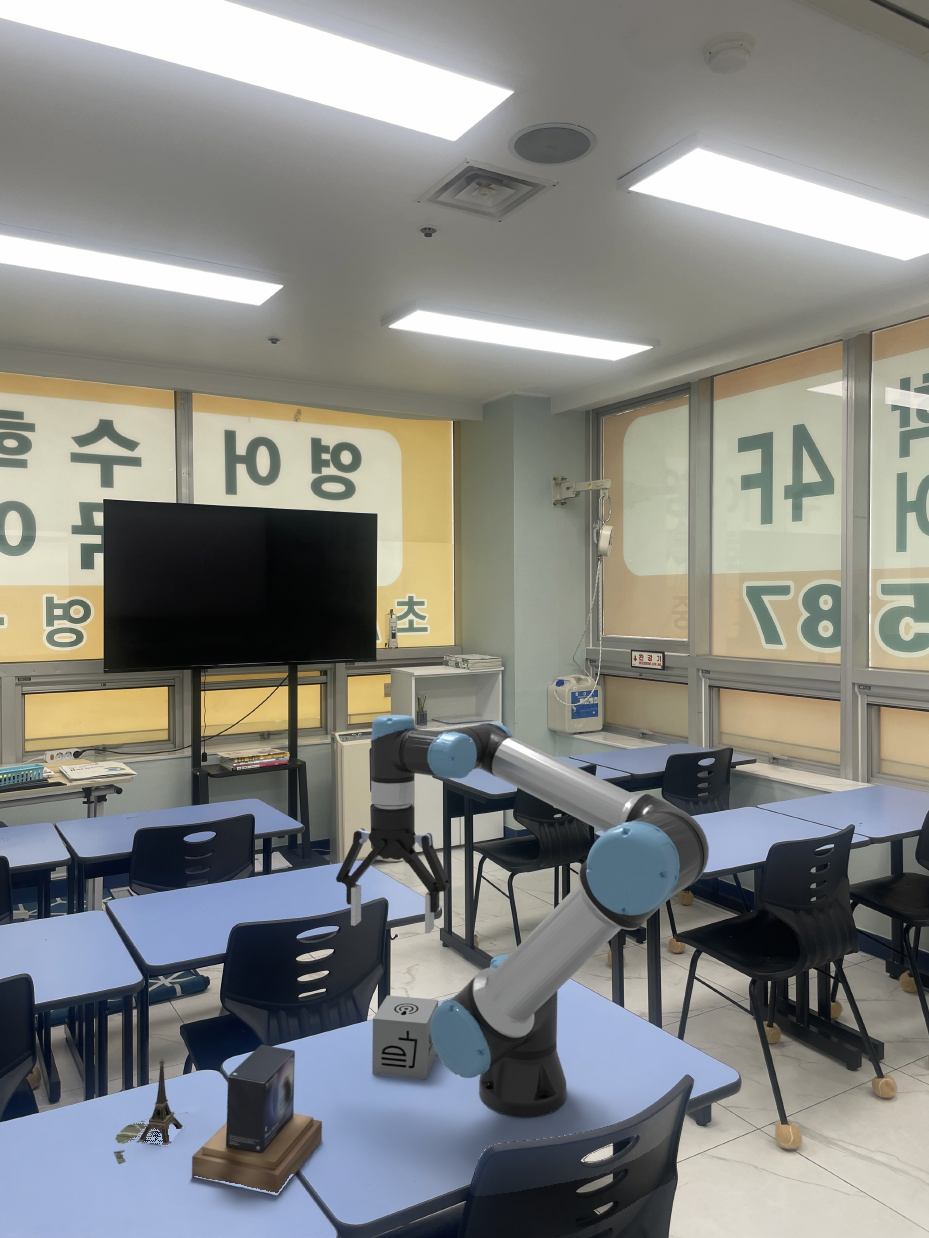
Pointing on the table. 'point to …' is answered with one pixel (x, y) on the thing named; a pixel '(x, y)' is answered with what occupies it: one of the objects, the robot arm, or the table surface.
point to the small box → (260, 1098)
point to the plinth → (259, 1156)
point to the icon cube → (403, 1037)
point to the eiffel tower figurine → (151, 1121)
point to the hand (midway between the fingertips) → (392, 926)
